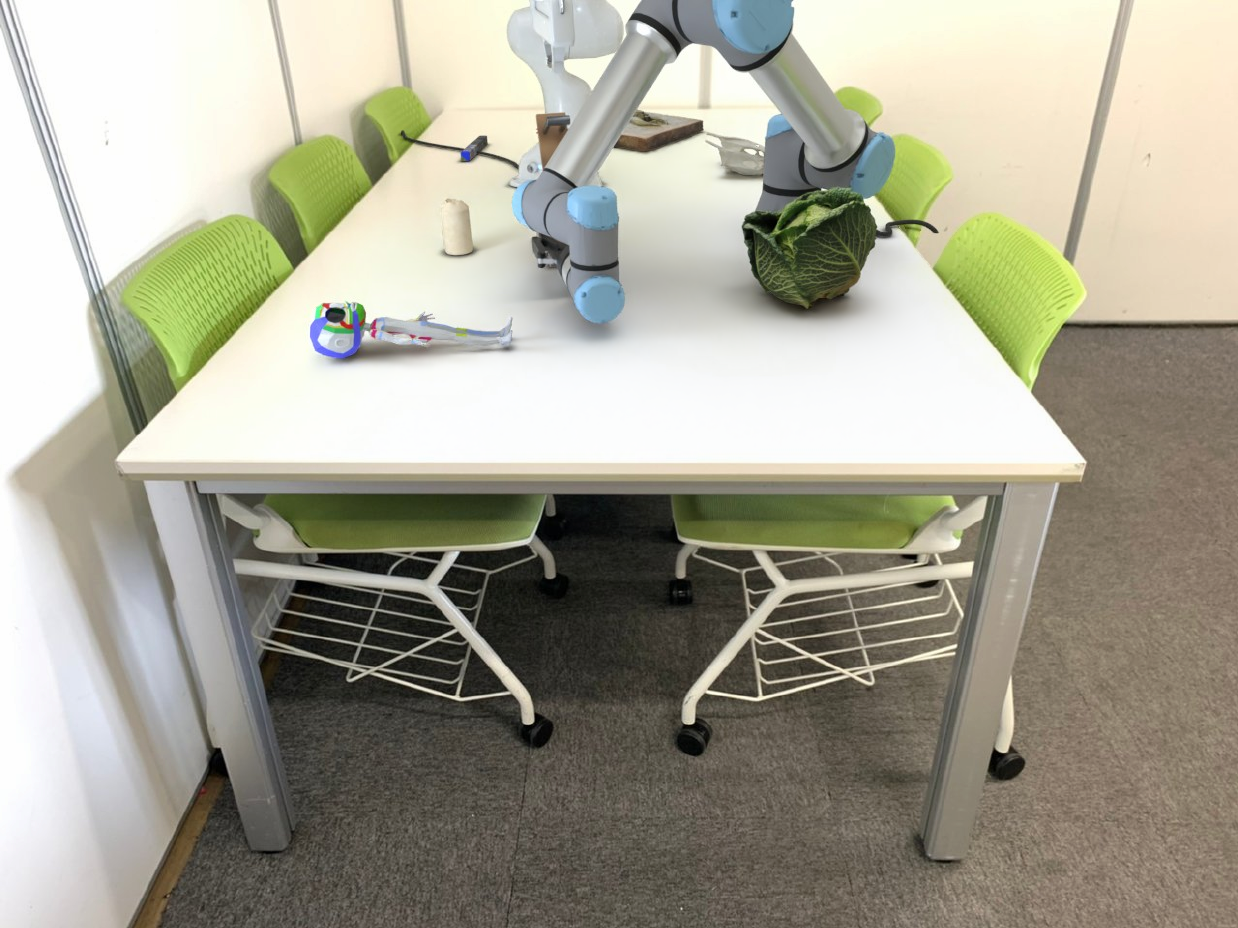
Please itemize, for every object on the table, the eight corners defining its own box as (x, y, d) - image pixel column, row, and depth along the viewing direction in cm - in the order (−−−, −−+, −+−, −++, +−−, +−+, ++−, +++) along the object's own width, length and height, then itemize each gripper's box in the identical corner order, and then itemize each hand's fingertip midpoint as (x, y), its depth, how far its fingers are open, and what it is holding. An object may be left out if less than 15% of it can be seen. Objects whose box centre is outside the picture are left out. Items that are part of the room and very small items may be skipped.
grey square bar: (487, 135, 252) (468, 152, 235) (487, 143, 253) (469, 161, 236) (479, 135, 252) (460, 152, 235) (480, 143, 253) (461, 161, 236)
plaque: (647, 125, 237) (559, 112, 252) (647, 153, 241) (560, 139, 256) (706, 107, 258) (622, 97, 273) (705, 133, 262) (622, 121, 277)
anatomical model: (707, 129, 226) (808, 127, 222) (707, 166, 231) (805, 165, 227) (703, 143, 213) (809, 141, 210) (703, 182, 218) (807, 181, 215)
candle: (478, 247, 177) (472, 197, 172) (465, 256, 173) (459, 205, 168) (453, 245, 179) (447, 194, 174) (439, 254, 174) (433, 202, 169)
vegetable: (769, 324, 161) (717, 226, 153) (855, 264, 162) (809, 164, 154) (822, 342, 142) (766, 232, 135) (919, 274, 144) (869, 162, 136)
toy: (513, 328, 132) (301, 311, 127) (509, 379, 136) (304, 364, 132) (513, 302, 141) (314, 285, 136) (509, 351, 145) (317, 336, 140)
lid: (535, 115, 160) (541, 101, 152) (564, 114, 161) (571, 100, 153) (547, 210, 162) (553, 202, 154) (575, 208, 163) (583, 199, 155)
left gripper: (582, -20, 134) (585, 79, 142) (559, -29, 151) (563, 60, 159) (541, -18, 133) (546, 81, 141) (522, -28, 150) (527, 62, 157)
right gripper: (530, 297, 149) (512, 252, 168) (636, 286, 153) (607, 243, 172) (527, 253, 145) (509, 212, 164) (636, 243, 149) (606, 204, 168)
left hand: (555, 70), depth 150 cm, fingers open, 5 cm apart
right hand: (559, 228), depth 168 cm, fingers closed on chest, 5 cm apart
